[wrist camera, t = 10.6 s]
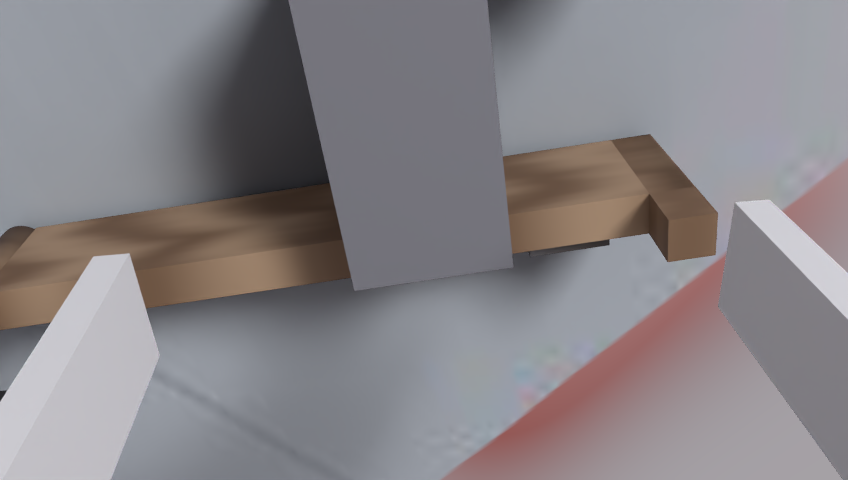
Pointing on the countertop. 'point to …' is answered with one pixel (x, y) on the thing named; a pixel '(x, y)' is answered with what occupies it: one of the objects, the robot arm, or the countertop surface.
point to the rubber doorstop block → (408, 135)
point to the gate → (322, 241)
